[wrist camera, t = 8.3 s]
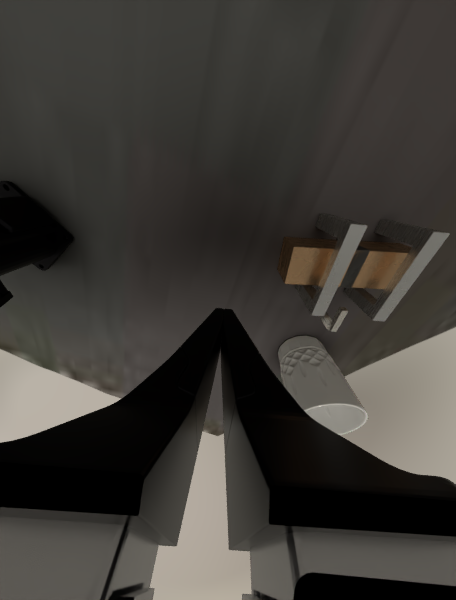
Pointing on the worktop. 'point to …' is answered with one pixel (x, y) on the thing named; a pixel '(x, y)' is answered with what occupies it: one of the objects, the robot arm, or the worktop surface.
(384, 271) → the taped cardboard box
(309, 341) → the white cup
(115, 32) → the worktop surface
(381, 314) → the gray bracket rail
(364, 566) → the robot arm
